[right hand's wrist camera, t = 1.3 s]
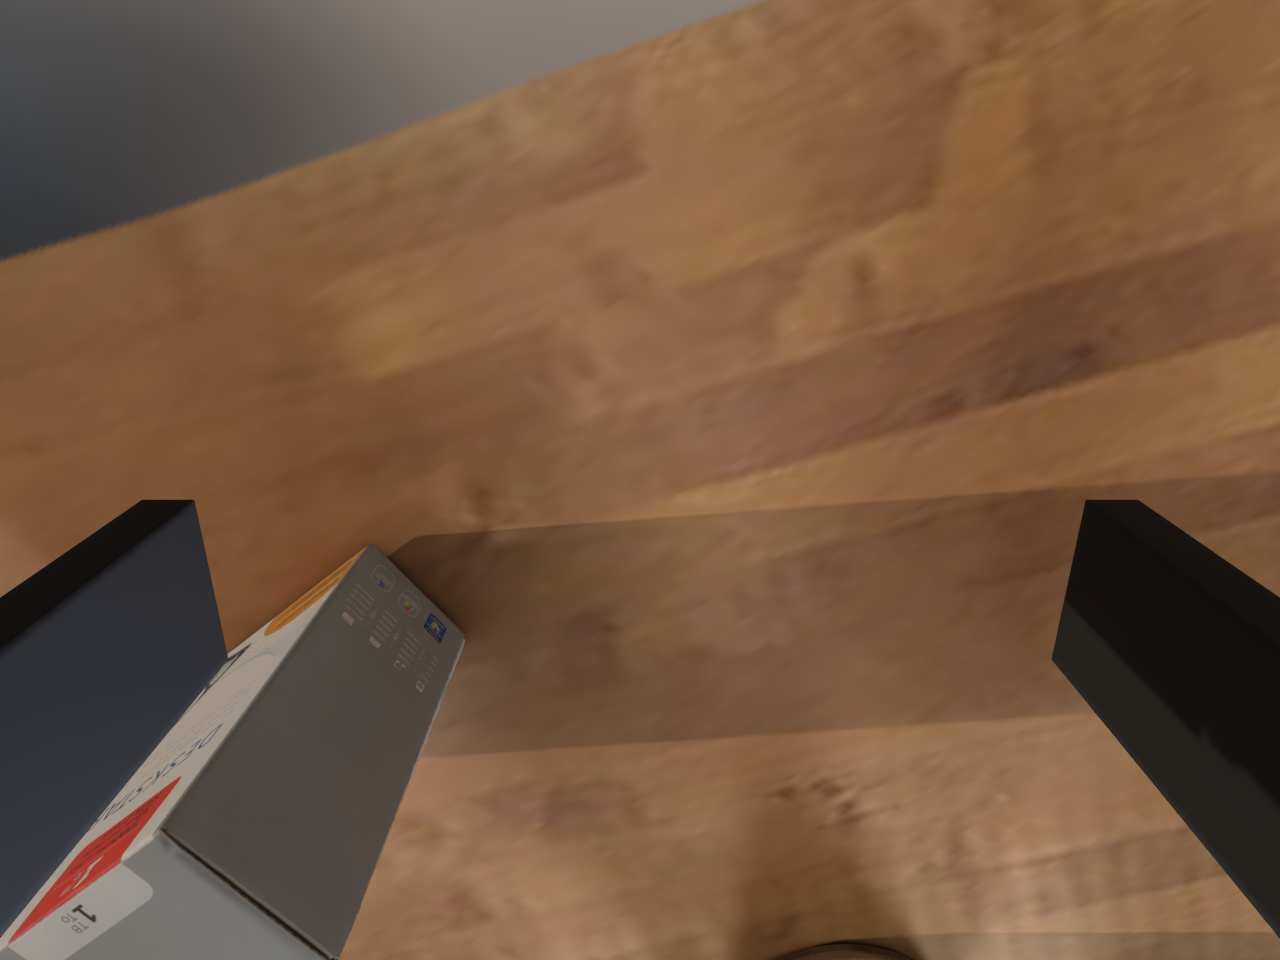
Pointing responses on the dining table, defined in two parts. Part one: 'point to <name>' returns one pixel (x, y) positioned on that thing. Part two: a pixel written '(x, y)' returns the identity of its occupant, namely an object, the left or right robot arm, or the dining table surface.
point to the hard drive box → (262, 790)
